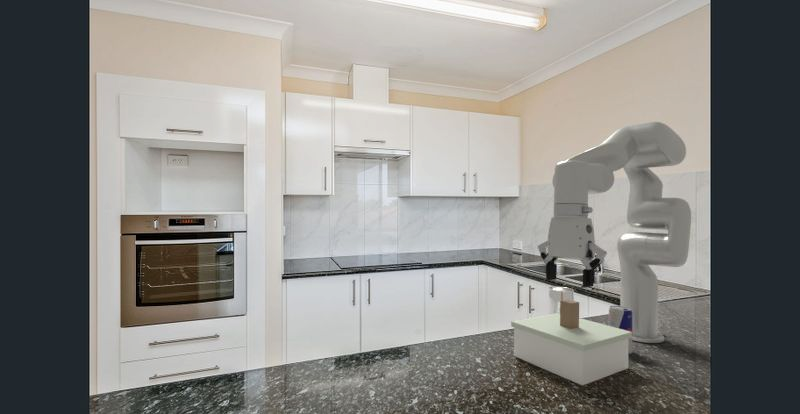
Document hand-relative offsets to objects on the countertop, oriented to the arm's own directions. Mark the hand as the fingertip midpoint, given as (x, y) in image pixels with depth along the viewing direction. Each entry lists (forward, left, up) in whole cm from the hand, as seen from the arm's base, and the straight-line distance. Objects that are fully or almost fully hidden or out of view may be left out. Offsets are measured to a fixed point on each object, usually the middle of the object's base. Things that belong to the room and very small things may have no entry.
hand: (568, 282), depth 88 cm
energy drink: (-20, +2, -20) cm, 28 cm away
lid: (-1, 0, -12) cm, 12 cm away
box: (-1, 0, -20) cm, 20 cm away
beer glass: (-15, -12, -20) cm, 27 cm away
